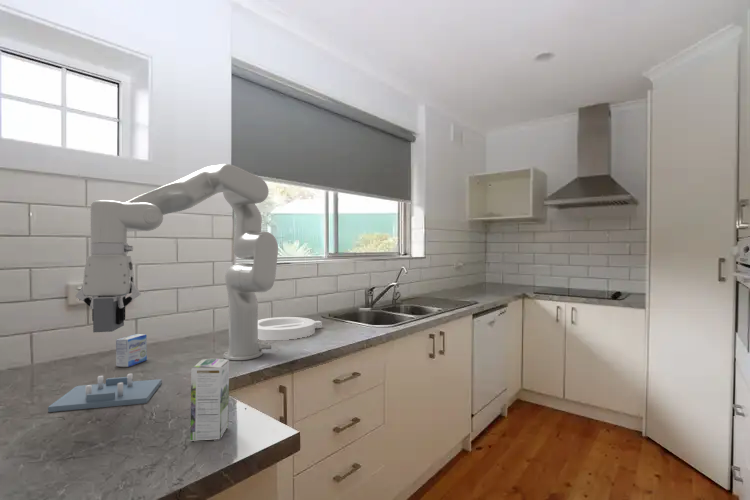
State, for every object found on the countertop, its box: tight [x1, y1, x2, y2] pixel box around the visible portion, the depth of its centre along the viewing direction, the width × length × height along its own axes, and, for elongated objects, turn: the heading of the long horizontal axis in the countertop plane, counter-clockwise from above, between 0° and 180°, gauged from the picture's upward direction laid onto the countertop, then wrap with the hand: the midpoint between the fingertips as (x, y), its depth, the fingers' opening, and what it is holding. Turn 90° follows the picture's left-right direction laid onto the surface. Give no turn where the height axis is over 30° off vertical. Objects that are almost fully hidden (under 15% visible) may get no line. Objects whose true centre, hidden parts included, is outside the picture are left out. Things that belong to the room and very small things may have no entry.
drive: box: [92, 296, 125, 333], centre depth 99 cm, size 4×8×8 cm, turn 15°
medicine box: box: [115, 333, 148, 368], centre depth 127 cm, size 8×4×9 cm, turn 168°
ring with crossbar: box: [258, 316, 323, 341], centre depth 172 cm, size 28×28×5 cm
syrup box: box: [189, 358, 230, 440], centre depth 79 cm, size 6×6×14 cm
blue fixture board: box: [47, 372, 163, 413], centre depth 99 cm, size 20×14×4 cm
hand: (109, 323), depth 99 cm, fingers closed on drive, 4 cm apart
